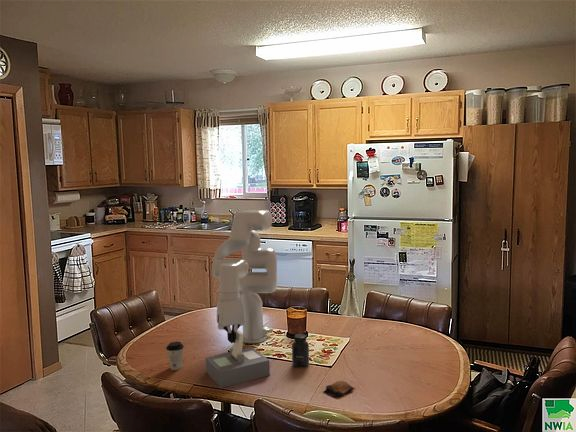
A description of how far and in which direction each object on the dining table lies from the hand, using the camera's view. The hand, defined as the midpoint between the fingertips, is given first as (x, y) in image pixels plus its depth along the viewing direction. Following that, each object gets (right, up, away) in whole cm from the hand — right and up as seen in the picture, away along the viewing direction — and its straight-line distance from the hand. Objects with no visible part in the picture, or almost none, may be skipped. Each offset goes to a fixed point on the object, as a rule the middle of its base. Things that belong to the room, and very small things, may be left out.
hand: (232, 341), depth 188 cm
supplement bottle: (+27, -12, +9) cm, 30 cm away
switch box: (+2, -13, +2) cm, 13 cm away
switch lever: (+2, -7, +1) cm, 7 cm away
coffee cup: (-24, -13, +10) cm, 29 cm away
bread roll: (+40, -14, -14) cm, 45 cm away
